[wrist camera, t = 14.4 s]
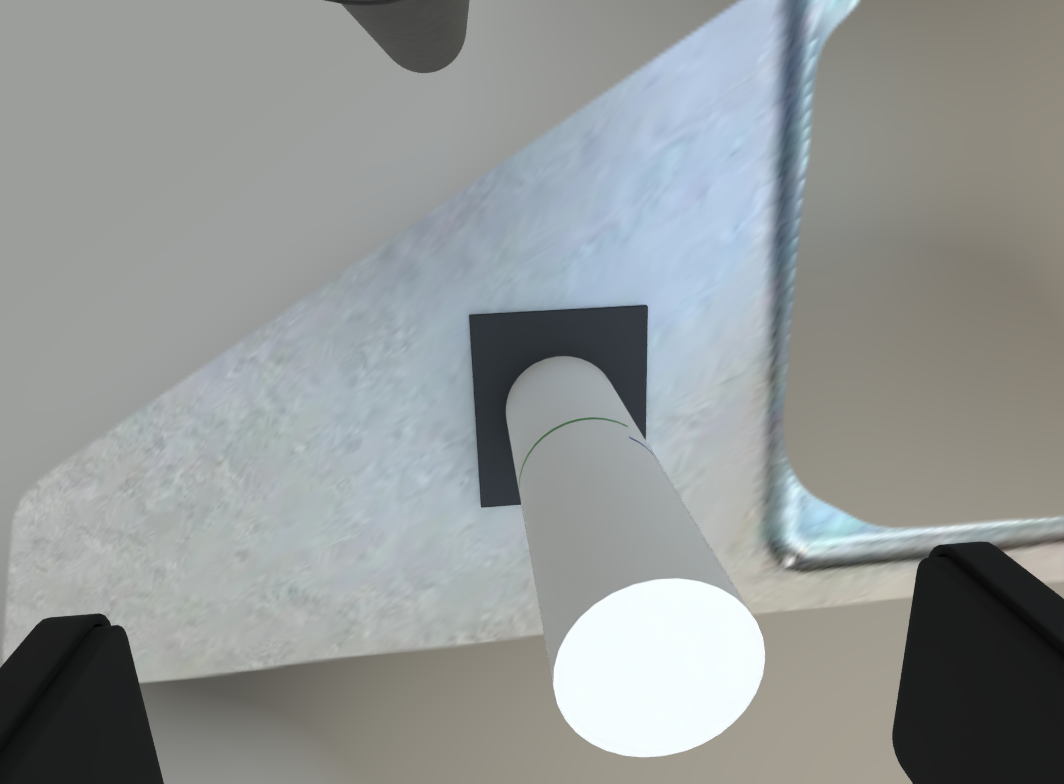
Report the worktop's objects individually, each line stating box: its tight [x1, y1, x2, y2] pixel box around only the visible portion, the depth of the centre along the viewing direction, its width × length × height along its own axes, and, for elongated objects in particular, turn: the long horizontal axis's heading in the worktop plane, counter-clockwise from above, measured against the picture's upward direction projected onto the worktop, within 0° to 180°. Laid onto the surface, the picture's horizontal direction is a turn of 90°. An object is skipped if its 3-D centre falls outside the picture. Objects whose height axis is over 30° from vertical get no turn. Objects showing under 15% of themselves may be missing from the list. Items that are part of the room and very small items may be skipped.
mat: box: [469, 305, 648, 507], centre depth 49 cm, size 13×11×1 cm
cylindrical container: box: [506, 356, 765, 757], centre depth 37 cm, size 7×7×25 cm
